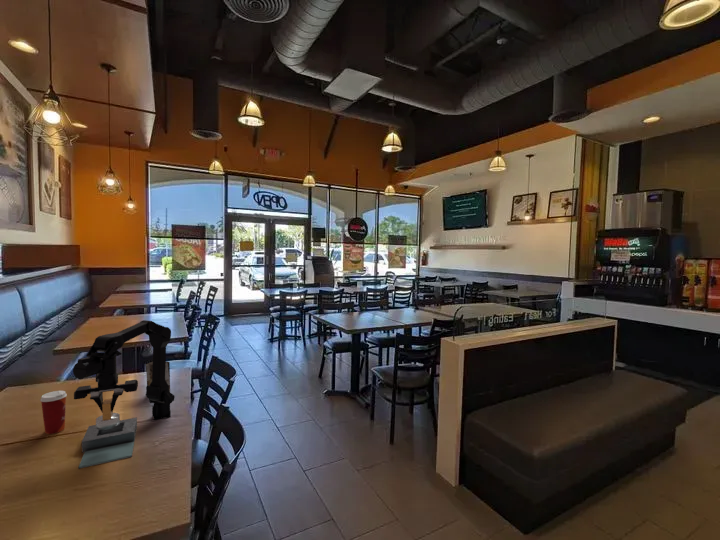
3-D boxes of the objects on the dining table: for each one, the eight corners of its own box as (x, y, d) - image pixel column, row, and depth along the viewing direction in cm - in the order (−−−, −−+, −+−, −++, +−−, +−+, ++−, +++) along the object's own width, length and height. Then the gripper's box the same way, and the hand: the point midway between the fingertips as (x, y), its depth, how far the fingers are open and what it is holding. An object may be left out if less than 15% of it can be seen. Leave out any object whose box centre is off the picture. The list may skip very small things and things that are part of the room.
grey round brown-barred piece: (121, 419, 137) (120, 396, 137) (118, 427, 130) (117, 403, 130) (98, 423, 134) (97, 399, 133) (94, 431, 127) (93, 406, 127)
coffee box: (170, 392, 183) (170, 361, 182) (160, 397, 177) (159, 365, 176) (157, 390, 186) (156, 359, 185) (146, 394, 180) (145, 363, 179)
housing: (137, 426, 148) (136, 417, 147) (134, 441, 136) (134, 431, 136) (89, 435, 140) (88, 426, 140) (82, 452, 129) (81, 441, 128)
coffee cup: (72, 428, 146) (71, 392, 145) (48, 437, 139) (46, 399, 138) (61, 423, 150) (59, 388, 149) (36, 432, 142) (35, 395, 141)
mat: (134, 443, 135) (134, 441, 135) (131, 456, 127) (131, 455, 126) (84, 453, 128) (84, 451, 128) (78, 468, 119) (78, 466, 119)
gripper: (138, 361, 143) (139, 399, 143) (80, 367, 134) (81, 408, 135) (136, 369, 133) (136, 410, 133) (73, 376, 124) (73, 420, 125)
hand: (107, 411), depth 132 cm, fingers closed on grey round brown-barred piece, 2 cm apart
